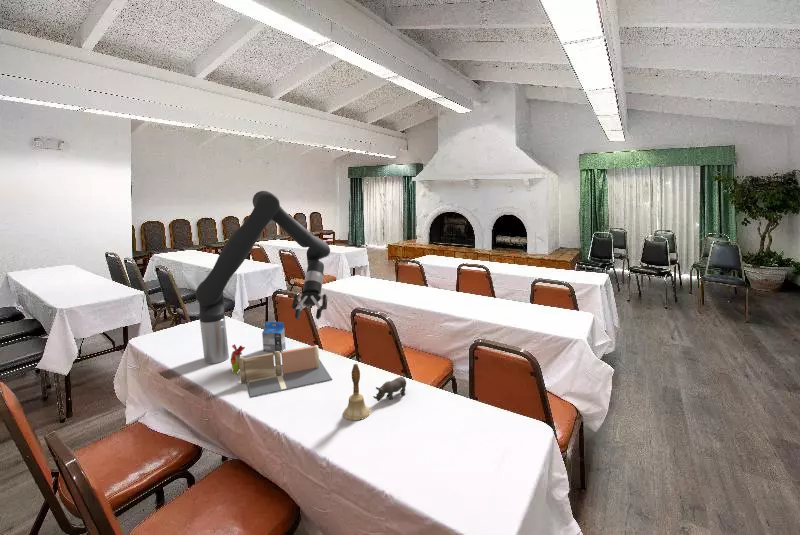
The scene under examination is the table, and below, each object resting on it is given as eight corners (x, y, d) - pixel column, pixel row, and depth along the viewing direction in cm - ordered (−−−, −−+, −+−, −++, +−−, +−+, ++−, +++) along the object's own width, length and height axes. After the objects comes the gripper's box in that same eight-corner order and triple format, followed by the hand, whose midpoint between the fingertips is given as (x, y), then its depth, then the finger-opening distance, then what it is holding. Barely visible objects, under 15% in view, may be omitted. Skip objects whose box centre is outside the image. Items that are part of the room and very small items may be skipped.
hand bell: (355, 403, 130) (353, 357, 127) (375, 410, 125) (374, 363, 122) (337, 415, 123) (335, 366, 120) (358, 423, 119) (356, 373, 116)
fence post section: (240, 381, 145) (238, 357, 144) (281, 373, 151) (279, 350, 149) (241, 383, 144) (238, 359, 142) (282, 375, 149) (280, 352, 148)
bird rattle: (226, 377, 155) (235, 374, 148) (219, 349, 156) (227, 345, 150) (242, 371, 159) (251, 369, 153) (235, 344, 160) (244, 341, 154)
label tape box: (263, 351, 174) (260, 324, 171) (267, 347, 178) (265, 321, 175) (282, 352, 172) (280, 325, 170) (286, 348, 176) (284, 321, 174)
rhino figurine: (369, 402, 131) (368, 385, 129) (402, 389, 139) (402, 372, 138) (376, 407, 127) (376, 389, 126) (410, 393, 136) (409, 376, 135)
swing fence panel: (282, 372, 151) (281, 351, 150) (318, 365, 157) (317, 344, 155) (283, 374, 150) (281, 353, 148) (319, 367, 155) (318, 346, 154)
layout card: (246, 372, 154) (245, 371, 153) (318, 358, 165) (318, 357, 165) (250, 397, 135) (250, 396, 135) (332, 380, 146) (332, 378, 146)
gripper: (294, 280, 170) (287, 315, 162) (326, 278, 168) (321, 314, 159) (300, 288, 176) (294, 322, 168) (331, 287, 174) (327, 322, 166)
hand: (307, 318), depth 164 cm, fingers open, 8 cm apart
